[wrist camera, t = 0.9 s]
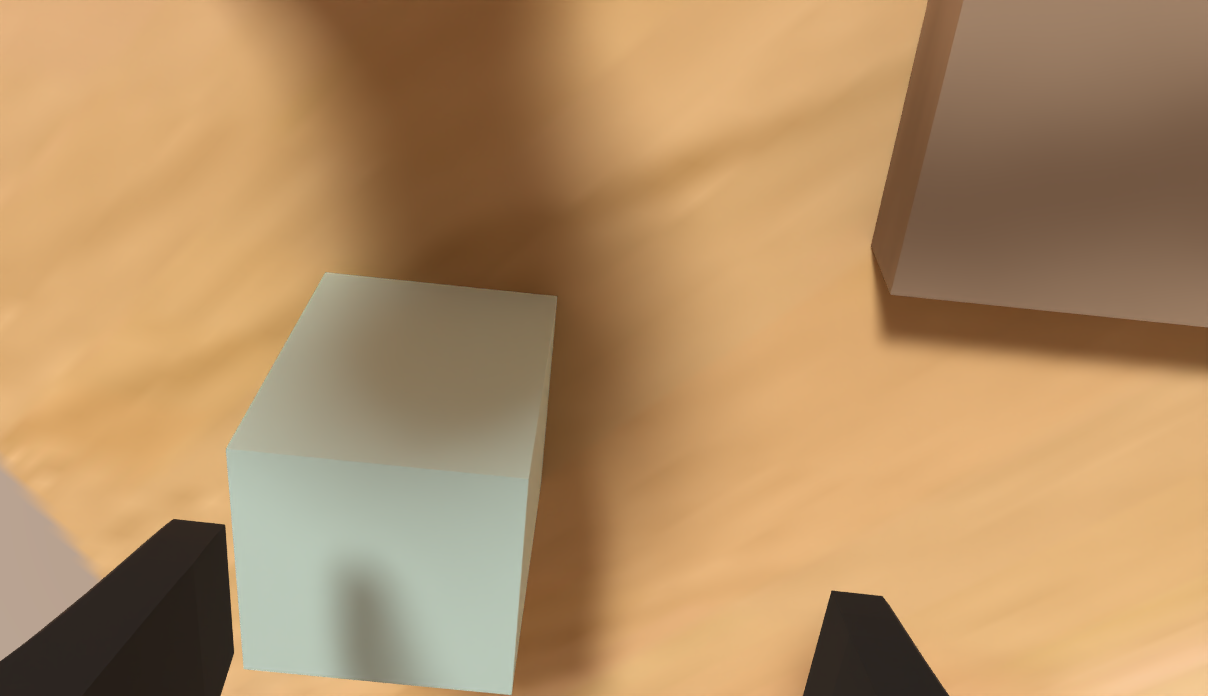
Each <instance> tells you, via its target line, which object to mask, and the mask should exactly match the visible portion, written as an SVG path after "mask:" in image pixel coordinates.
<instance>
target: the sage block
mask: <svg viewBox="0 0 1208 696" xmlns="http://www.w3.org/2000/svg"><path fill="white" fill-rule="evenodd" d="M556 306H557V296H551V295H542V294H532V293H522V292H512V291H503V290H493V289H483V288H474V287H464V286H454V285H444V284H435V283H425V282H415V281H405V280H396V279H386V278H376V277H367V276H357V275H347V274H337V273H328V272H325V274H324V276H323V277H322V279H321V281H320V283H319V284H318V286H317V288H316V290H315V291H314V293H313V295H312V297H311V299H310V300H309V302H308V304H307V306H306V307H305V309H304V311H303V313H302V315H301V316H300V318H299V320H298V322H297V323H296V325H295V327H294V329H293V331H292V332H291V334H290V336H289V338H288V339H287V341H286V343H285V345H284V347H283V348H282V350H281V352H280V354H279V355H278V357H277V359H276V361H275V362H274V364H273V366H272V368H271V370H270V371H269V373H268V375H267V377H266V378H265V380H264V382H263V384H262V386H261V387H260V389H259V391H258V393H257V394H256V396H255V398H254V400H253V402H252V403H251V405H250V407H249V409H248V410H247V412H246V414H245V416H244V418H243V419H242V421H241V423H240V425H239V426H238V428H237V430H236V432H235V433H234V435H233V437H232V439H231V441H230V442H229V444H228V446H227V448H226V456H227V468H228V481H229V493H230V505H231V517H232V530H233V542H234V554H235V567H236V579H237V591H238V603H239V616H240V628H241V640H242V652H243V665H244V669H249V670H259V671H269V672H280V673H290V674H300V675H310V676H321V677H331V678H341V679H352V680H362V681H372V682H383V683H393V684H403V685H413V686H424V687H434V688H444V689H455V690H465V691H475V692H486V693H496V694H506V695H512V688H513V681H514V674H515V667H516V660H517V653H518V646H519V638H520V631H521V624H522V617H523V610H524V603H525V596H526V588H527V581H528V574H529V567H530V560H531V553H532V546H533V538H534V531H535V524H536V517H537V510H538V503H539V496H540V488H541V480H542V469H543V457H544V445H545V434H546V422H547V411H548V399H549V387H550V376H551V364H552V353H553V341H554V329H555V318H556Z"/></svg>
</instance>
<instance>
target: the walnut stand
mask: <svg viewBox="0 0 1208 696" xmlns="http://www.w3.org/2000/svg"><path fill="white" fill-rule="evenodd" d="M871 247H872V250H873V252H874V255H875V257H876V260H877V262H878V265H879V267H880V270H881V272H882V275H883V277H884V280H885V282H886V285H887V287H888V290H889V293H890V295H898V296H908V297H918V298H927V299H937V300H947V301H957V302H966V303H976V304H986V305H995V306H1005V307H1015V308H1024V309H1034V310H1044V311H1053V312H1063V313H1073V314H1082V315H1092V316H1102V317H1111V318H1121V319H1131V320H1141V321H1150V322H1160V323H1170V324H1179V325H1189V326H1199V327H1208V0H928V4H927V8H926V13H925V17H924V21H923V26H922V30H921V34H920V38H919V43H918V47H917V51H916V56H915V60H914V64H913V68H912V73H911V77H910V81H909V85H908V90H907V94H906V98H905V103H904V107H903V111H902V115H901V120H900V124H899V128H898V133H897V137H896V141H895V145H894V150H893V154H892V158H891V163H890V167H889V171H888V175H887V180H886V184H885V188H884V193H883V197H882V201H881V205H880V210H879V214H878V218H877V223H876V227H875V231H874V235H873V240H872V244H871Z"/></svg>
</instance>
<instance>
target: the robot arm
mask: <svg viewBox="0 0 1208 696" xmlns="http://www.w3.org/2000/svg"><path fill="white" fill-rule="evenodd" d="M233 655H234V645H233V631H232V616H231V602H230V588H229V573H228V559H227V545H226V530H225V525H223V524H214V523H205V522H196V521H187V520H177V519H173V520H172V521H170V522H169V523H168V524H166V525H165V526H164V527H162V528H161V529H160V530H159V531H158V532H157V533H155V534H154V535H153V536H152V537H151V538H149V539H148V540H147V541H146V542H145V543H144V544H143V545H141V546H140V547H139V548H138V549H137V550H136V551H135V552H133V553H132V554H131V555H130V556H129V557H128V558H126V559H125V560H124V561H123V562H122V563H121V564H120V565H118V566H117V567H116V568H115V569H114V570H113V571H111V572H110V573H109V574H108V575H107V576H106V577H104V578H103V579H102V580H101V581H100V582H99V583H97V584H96V585H95V586H94V587H93V588H92V589H90V590H89V591H88V592H87V593H86V594H84V595H83V596H82V597H81V598H80V599H78V600H77V601H76V602H75V603H74V604H72V605H71V606H70V607H69V608H67V609H66V610H65V611H64V612H63V613H61V614H60V615H59V616H58V617H56V618H55V619H54V620H53V621H52V622H50V623H49V624H48V625H47V626H45V627H44V628H43V629H42V630H41V631H39V632H38V633H37V634H36V635H34V636H33V637H32V638H31V639H29V640H28V641H27V642H25V643H24V644H23V645H22V646H20V647H19V648H18V649H16V650H15V651H13V652H12V653H11V654H9V655H8V656H7V657H5V658H4V659H3V660H1V661H0V696H220V695H221V692H222V689H223V686H224V683H225V680H226V677H227V673H228V670H229V667H230V664H231V661H232V658H233ZM803 696H949V695H948V693H947V692H946V690H945V689H944V688H943V686H942V685H941V683H940V682H939V680H938V679H937V677H936V676H935V674H934V673H933V671H932V670H931V668H930V667H929V665H928V664H927V662H926V661H925V659H924V658H923V656H922V655H921V653H920V652H919V650H918V649H917V647H916V646H915V644H914V643H913V641H912V639H911V638H910V636H909V635H908V633H907V632H906V630H905V629H904V627H903V626H902V624H901V622H900V621H899V619H898V618H897V616H896V615H895V613H894V612H893V610H892V609H891V607H890V606H889V604H888V603H887V602H886V600H885V599H884V598H883V596H876V595H867V594H857V593H848V592H839V591H831V595H830V598H829V602H828V606H827V609H826V613H825V617H824V620H823V624H822V628H821V632H820V635H819V639H818V643H817V646H816V650H815V654H814V657H813V661H812V665H811V668H810V672H809V676H808V679H807V683H806V687H805V690H804V694H803Z"/></svg>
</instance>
